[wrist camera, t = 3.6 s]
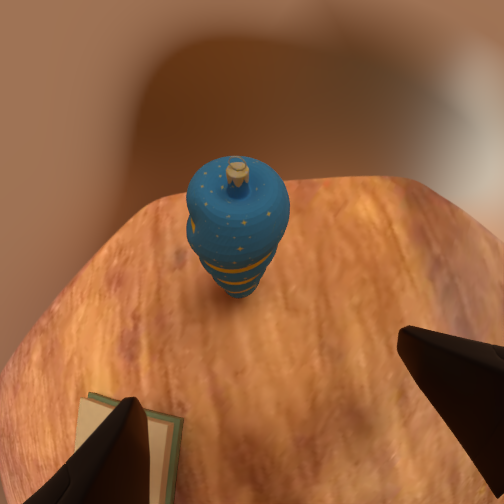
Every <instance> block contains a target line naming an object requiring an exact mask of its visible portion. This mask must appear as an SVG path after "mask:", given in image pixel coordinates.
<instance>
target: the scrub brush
mask: <svg viewBox="0 0 504 504" xmlns="http://www.w3.org/2000/svg"><path fill="white" fill-rule="evenodd" d="M120 402H121V401H118V400H114V399H111V398H108V397H105V396H103V395H100V394H97V393H91V392H89V393H88V398H83V397H81V398H80V404H79V411H78V419H77V428H76V439H75V451H74V453H75V452H76V451H77V449H78V448H79V447H80V446H81V445H82V444H83V443H84V442H85V441H86V439H87V438H88V437H89V436H90V435H91V434H92V433H93V432H94V431H95V429H96V428H97V427H98V426H99V425H100V424H101V423H102V422H103V421H104V419H105V418H106V417H107V416H108V415H109V414H110V413H111V412H112V411H113V409H114V408H115V407H116V406H117V405H118V404H119V403H120ZM143 409H144V411H145V413H146V415H147V419H148V434H149V447H150V504H174V494H175V485H176V476H177V467H178V459H179V451H180V443H181V436H182V428H183V421H184V418H181V417H177V416H172V415H168V414H164V413H160V412H156V411H152V410H148V409H145V408H143Z"/></svg>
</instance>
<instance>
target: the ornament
mask: <svg viewBox="0 0 504 504" xmlns="http://www.w3.org/2000/svg"><path fill="white" fill-rule="evenodd" d="M186 201H187V207H188V210H189V213H190V215H189V218H188V221H187V227H186V231H187V239H188V242H189V244H190V246H191V248H192V249H193V250H194V252H195V253H196V254H197V255H198V256H199V259H200V261H201V263H202V265H203V267H204V268H205V269H206V270H207V272H209V273H210V274H211V275H212V277H213V279H214V280H215V282H216V283H217V284H218V285H219V286H220V287H222V288H223V289H224V290H225V292H226V293H227V294H228V295H230V296H232V297H234V298H243V297H246V296H248V295H250V294H251V293H252V292H253V291H254V290H255V289H256V287H257V286H258V284H259V281H260V279H261V277H262V276H263V274H264V272H265V270H266V267H267V266H268V265H269V263H270V262H271V261H272V259H273V257H274V255H275V253H276V250H277V246H278V243H279V242H280V240H281V238H282V237H283V235H284V232H285V230H286V227H287V225H288V221H289V214H290V202H289V196H288V192H287V189H286V186H285V184H284V182H283V181H282V179H281V178H280V176H279V175H278V174H277V173H276V172H275V171H274V170H273V169H272V168H271V167H269V166H268V165H267V164H265V163H263V162H261V161H259V160H256V159H253V158H249V157H244V156H228V157H222V158H219V159H216V160H213V161H211V162H209V163H207V164H205V165H204V166H202V167H201V168H200V169H199V170H198V171H197V172H196V173H195V175H194V176H193V178H192V179H191V181H190V183H189V186H188V190H187V195H186Z"/></svg>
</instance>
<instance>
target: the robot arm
mask: <svg viewBox="0 0 504 504" xmlns="http://www.w3.org/2000/svg"><path fill="white" fill-rule="evenodd" d="M397 352H398V354H399V356H400V357H401V359H402V361H403V362H404V364H405V366H406V367H407V369H408V371H409V372H410V374H411V376H412V377H413V379H414V380H415V382H416V384H417V385H418V386H419V388H420V389H421V390H422V392H423V393H424V394H425V396H426V397H427V398H428V400H429V401H430V402H431V404H432V405H433V406H434V408H435V409H436V410H437V412H438V413H439V415H440V416H441V417H442V419H443V420H444V421H445V423H446V424H447V426H448V427H449V428H450V430H451V431H452V433H453V434H454V435H455V437H456V438H457V440H458V441H459V442H460V444H461V445H462V447H463V448H464V450H465V451H466V453H467V454H468V455H469V457H470V458H471V460H472V461H473V463H474V465H475V466H476V468H477V469H478V471H479V472H480V474H481V475H482V477H483V478H484V480H485V481H486V483H487V484H488V486H489V487H490V489H491V491H492V492H493V494H494V495H495V497H496V498H497V499H498V498H499V497H500V496H501V495H503V494H504V347H502V346H497V345H491V344H488V343H483V342H479V341H474V340H470V339H465V338H461V337H457V336H452V335H448V334H444V333H439V332H435V331H431V330H427V329H423V328H419V327H415V326H410V325H409V326H406V327H404V328H401V329H400V330H399V333H398V342H397ZM23 504H150V447H149V434H148V419H147V415H146V413H145V411H144V409H143V407H142V406H141V404H140V402H139V400H138V399H137V398H136V397H126V398H124V399H122V401H121V402H120V403H119V404H118V405H117V406H116V407H115V408H114V409H113V411H112V412H111V413H110V414H109V415H108V416H107V417H106V418H105V419H104V421H103V422H102V423H101V424H100V425H99V426H98V427H97V428H96V429H95V431H94V432H93V433H92V434H91V435H90V436H89V437H88V438H87V439H86V441H85V442H84V443H83V444H82V445H81V446H80V447H79V448H78V449H77V451H76V452H75V453H74V454H73V455H72V456H71V457H70V458H69V459H68V460H67V462H66V464H64V465H63V466H62V467H61V468H60V469H59V470H58V471H57V472H56V473H55V474H54V476H53V477H52V478H51V479H50V480H49V481H48V482H46V483H45V484H44V485H43V486H42V487H41V488H40V489H39V490H38V491H37V492H35V493H34V494H33V495H32V496H31V497H30V498H28V499H27V500H26V501H25V502H24V503H23Z"/></svg>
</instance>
